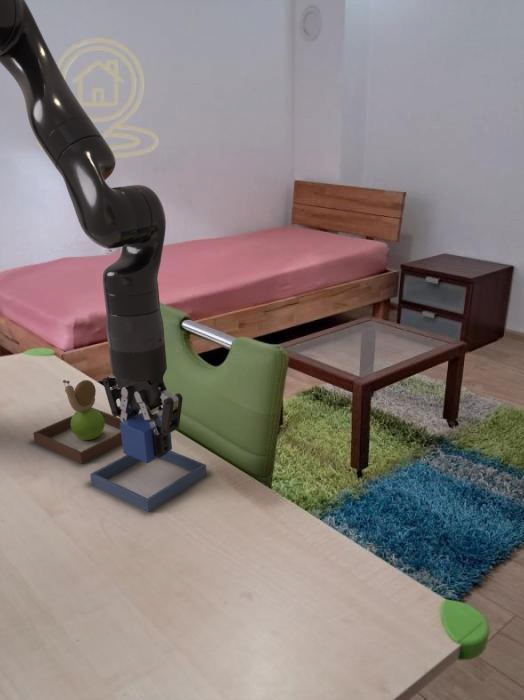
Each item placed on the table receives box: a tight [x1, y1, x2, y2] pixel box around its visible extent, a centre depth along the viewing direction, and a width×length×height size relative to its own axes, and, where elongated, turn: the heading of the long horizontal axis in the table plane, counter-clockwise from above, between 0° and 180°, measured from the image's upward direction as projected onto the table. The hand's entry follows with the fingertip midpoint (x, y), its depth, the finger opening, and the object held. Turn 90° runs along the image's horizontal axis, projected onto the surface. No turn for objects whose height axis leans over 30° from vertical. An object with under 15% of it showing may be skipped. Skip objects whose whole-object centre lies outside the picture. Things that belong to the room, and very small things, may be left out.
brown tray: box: [32, 406, 122, 465], centre depth 106 cm, size 12×12×2 cm
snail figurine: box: [62, 379, 106, 441], centre depth 104 cm, size 5×6×12 cm
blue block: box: [119, 412, 173, 464], centre depth 92 cm, size 5×5×5 cm
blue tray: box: [89, 450, 207, 513], centre depth 95 cm, size 12×12×2 cm
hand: (147, 448), depth 93 cm, fingers closed on blue block, 5 cm apart
